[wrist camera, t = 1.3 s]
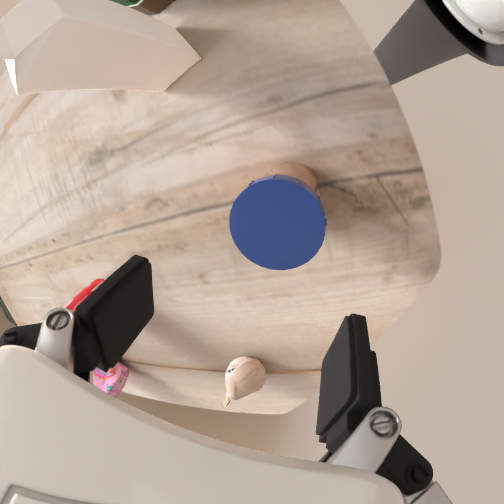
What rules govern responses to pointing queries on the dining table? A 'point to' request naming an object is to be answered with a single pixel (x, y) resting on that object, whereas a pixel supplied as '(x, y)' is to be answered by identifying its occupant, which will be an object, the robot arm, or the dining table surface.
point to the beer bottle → (145, 5)
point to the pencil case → (111, 379)
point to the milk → (90, 47)
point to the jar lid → (278, 222)
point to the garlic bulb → (243, 378)
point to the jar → (297, 174)
